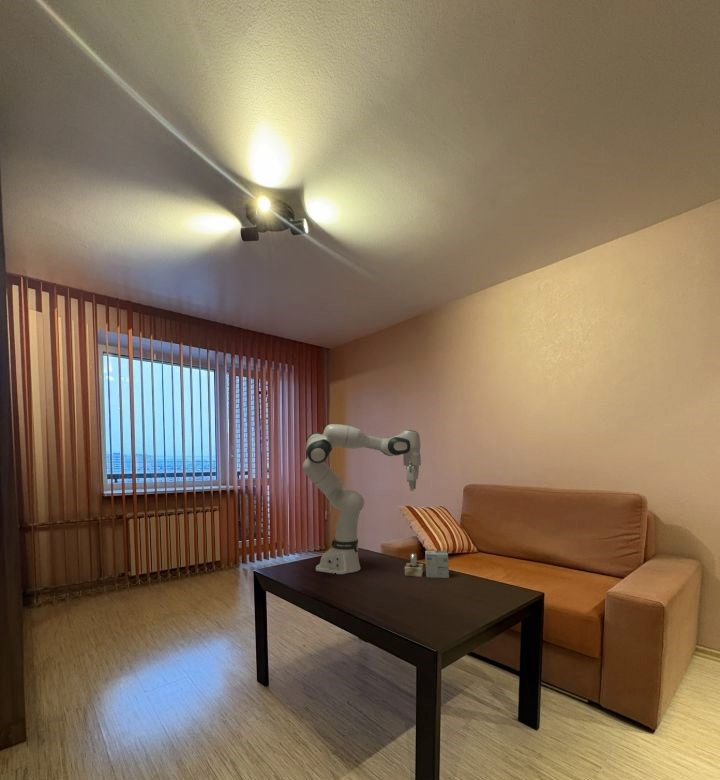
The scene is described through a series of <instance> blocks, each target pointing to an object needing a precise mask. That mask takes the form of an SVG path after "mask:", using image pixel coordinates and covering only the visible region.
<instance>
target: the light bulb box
mask: <svg viewBox="0 0 720 780" xmlns="http://www.w3.org/2000/svg"><path fill="white" fill-rule="evenodd" d="M424 552H425V554H424V555H425V556H424V559H425V561H424V562H425V575H426V578H435V579H436V578H439V579H442V578H443V579H449V578H450V571H449V570H450V569H449V553H448V551H447V550H425V551H424Z"/></svg>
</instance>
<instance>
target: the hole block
mask: <svg viewBox="0 0 720 780" xmlns="http://www.w3.org/2000/svg"><path fill="white" fill-rule="evenodd" d="M423 573H424V564H423V563H417V567H411V564H410V562H406V564H405V565H404V576H406V577H407V576H409V577H423Z"/></svg>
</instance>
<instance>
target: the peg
mask: <svg viewBox="0 0 720 780" xmlns="http://www.w3.org/2000/svg"><path fill="white" fill-rule="evenodd" d="M409 557H410V558H409V559H410V560H409V561H410V562H409V563H410V564H411V567H417V564H418V563H417V562H418V561H417V560H418V558H417V557H418V556H417V553H413V552H411V553H410V555H409Z"/></svg>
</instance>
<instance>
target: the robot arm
mask: <svg viewBox="0 0 720 780" xmlns="http://www.w3.org/2000/svg"><path fill="white" fill-rule="evenodd" d="M333 447H340V448H345V449H361V448H366V449H372V450H375V451H380V452H381V453H383V455H385V456H388V457H392V456H395V457H398V456H401V455H403V457H402V458H403V462H402V463H403V466H404V467H405V469H406V482H407V483H408V484H409V485H408V486H409V491H410V492H414V490H416V488H417V487H416V486H417V485H416V484H417V480H418V479H419V471H420V466H422V457H421V451H420V450H421V438H420V433H419V432H418V431H416V430H412V429H405V430H404V431H402V432H400V433H399V434H397V435H395V436H387V437H383V438H382V437H377V436H371V435H368V434H365V433H364V432H363V431H362V430H361V429H359V428H357V427H355V426H351V425H346V424H339V423H338V424H337V423H334V424H333V423H331V424H328V425H327V426H326V427H325V428H324V429H323V433H322V432H317V431H316V432H312V433H311V434H310V435H308V437H307V439H306V444H305V448H306V456H307V458H306V459H305V460H304V461H303V462H302V470H303V472H304V474H305V475H306V476H307V477H308V479H309V480H310V481H311V482H312V483H313V484H314V485H315V486H316V487H317V488H318V489H319V491H320V492H321V493H323V494H324V496H325V498H327V499H328V501H329V503H330V505H331V506H332V507H333V508H334V509H336V510H338V511H339V514H338V515H339V516H338V519H337V521H336V522H335V538H333V540H332V541H331V542H330V545H331V547H330V548H329V549H328V550H326V551H325V552H324V553H323V554H322V556H321V557H320V561H319V563H318V564H317V565H316V566H315V571H316V572H321V573H329V574H335V573H336V574H335V575H346V574H349V573H355V572H358V571H360V570H361V569H362V568H361V565H360V560H359V552H358V551H359V539H358V522H359V516H360V513H361V510H362V509H363V508H364V506H365V499H364V497H363V495H362V494H360V493H359V492H358V491H356V490H353V489H348V488H346V487H345V486H344V485H343V483H342V481H341V479H340V476H338V475H337V474H336V472H335V471H334V470H333V469H332V468H331V467H330V466H329V465H328V464H327V463H326V462H325V461H326V460H327V459H328V457H329V455H330V453H331V452H332V449H333Z"/></svg>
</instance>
